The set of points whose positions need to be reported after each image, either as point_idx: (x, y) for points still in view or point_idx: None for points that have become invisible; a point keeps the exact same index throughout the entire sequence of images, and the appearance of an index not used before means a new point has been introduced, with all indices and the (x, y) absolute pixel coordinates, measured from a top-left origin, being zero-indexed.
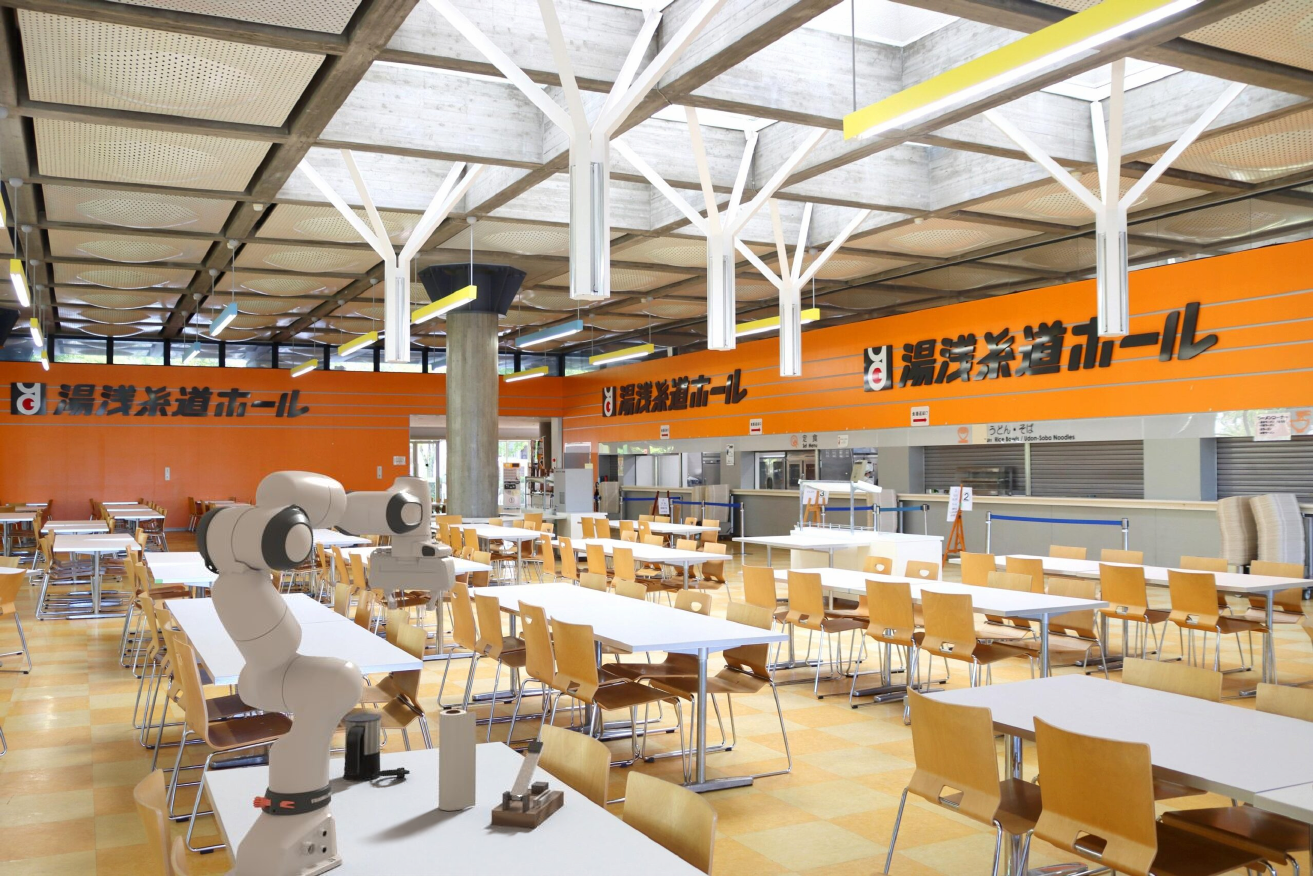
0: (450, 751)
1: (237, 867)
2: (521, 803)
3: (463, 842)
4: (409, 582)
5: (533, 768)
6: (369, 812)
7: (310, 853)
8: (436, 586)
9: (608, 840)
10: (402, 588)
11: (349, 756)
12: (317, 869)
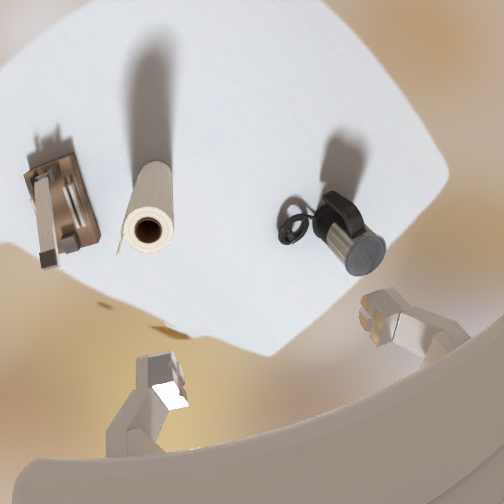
0: (140, 187)
1: None
2: (58, 196)
3: (63, 90)
4: (322, 469)
5: (37, 225)
6: (238, 115)
7: None
8: (74, 479)
9: None
10: (364, 403)
11: (340, 197)
12: None
